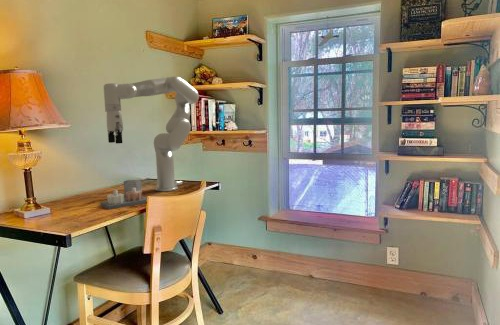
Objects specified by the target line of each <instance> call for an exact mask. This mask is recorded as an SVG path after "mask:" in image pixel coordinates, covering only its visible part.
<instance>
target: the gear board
mask: <svg viewBox="0 0 500 325" xmlns="http://www.w3.org/2000/svg"><path fill="white" fill-rule="evenodd" d="M112 194H113V196H117V195H118V194H119V191H118V189H115V190H112ZM147 198H148V197H145V196H143V190H142V191H136V188H132V191H129V192H126V197H124V202H123V203H117V204H109V203H108V200H105V201H100V202H99V204H100V206H101V207H104V208H105V209H107V210H114V209H119V208H124V207H125V208H126V207H130V206H135V205H143V204H147V203H146V200H147Z"/></svg>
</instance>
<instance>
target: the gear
mask: <svg viewBox="0 0 500 325" xmlns="http://www.w3.org/2000/svg"><path fill="white" fill-rule="evenodd" d="M106 197H107V200H106V201H108V203H109V204H117V203H123V202H124V198H125V194H124V192H123V193H118V195H117V196H113V193H110V194H108V195H106Z"/></svg>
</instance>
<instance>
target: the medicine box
mask: <svg viewBox="0 0 500 325" xmlns="http://www.w3.org/2000/svg"><path fill="white" fill-rule="evenodd" d="M132 188H136V191H142V192H143V187H142V180H140V179H139V180H138V179H126V180H124V181H123V190H124V191H123V194H124V198H126V192H129V191H132Z"/></svg>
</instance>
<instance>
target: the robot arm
mask: <svg viewBox="0 0 500 325" xmlns="http://www.w3.org/2000/svg"><path fill="white" fill-rule="evenodd" d="M171 93H175V94H174V100H175V103H176V109H175V111H174V113H173V114H172V116H171V117H170V119H169V120H168V122H167V123H166V125H165V131H166V133H158V134H157V135H156V136H155V137H154V139H153V148H154V152H155V160H156V161H155V164H156V179H157V180H156V181H157V182H156V183H157V186H156V187H154V190H155V191H156V192H171V191H175V190H178V189H179V187H178V185H182V184H183V181H182V180H179V181H178V180H176V179H175V161H174V160H175V158H174V154H173V152H176V151H178V150H179V149H180V148H181V146H182V145H183V143H184V142H185V141H186V140H187V137H188V136H189V134H190V132H191V128H192V126H191V125H192V124H191V123H190V121H189V118H190V116H191V109H190V108H191V107H190V105H192V104H196V103H197V102H198V101H199V99H200V97H199V96H200V95H199V92H198V90H197V89H196V88H195V87H193V86H192V85H191V84H190V83H188V81H186V80H185V79H183V78H182V77H180V76H176V75H174V76H169V77H160V78H152V79H146V80H142V81H137V82H133V83H132V82H130V83H120V84H119V83H109V82H108V83H104V85H103V95H104V96H103V97H104V98H103V99H104V111H105V113H106V129H107V137H108V138H107V140H108V143H111V144H113V143H115V144H123V132H124V131H123V130H124V125H123V123H124V121H123V117H122V105H121V104H122V102H121V100H125V99H127V100H129V99H132V98H139V97H140V98H141V97H152V96H157V95H158V96H159V95H165V94H171Z"/></svg>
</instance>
